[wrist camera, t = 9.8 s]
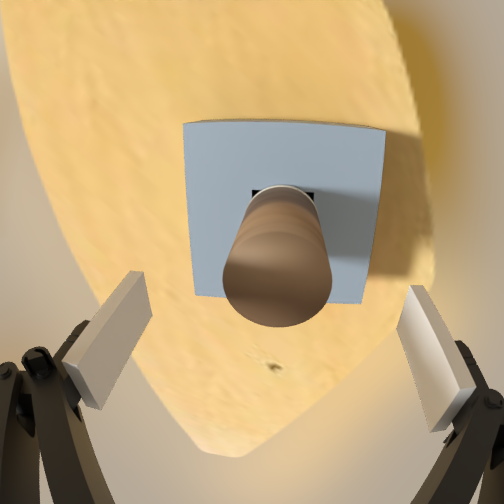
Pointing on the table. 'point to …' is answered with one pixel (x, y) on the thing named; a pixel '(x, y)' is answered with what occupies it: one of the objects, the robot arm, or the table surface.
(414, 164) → the table surface
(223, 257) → the seat block
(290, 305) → the peg
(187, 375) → the table surface
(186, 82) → the table surface
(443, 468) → the robot arm
